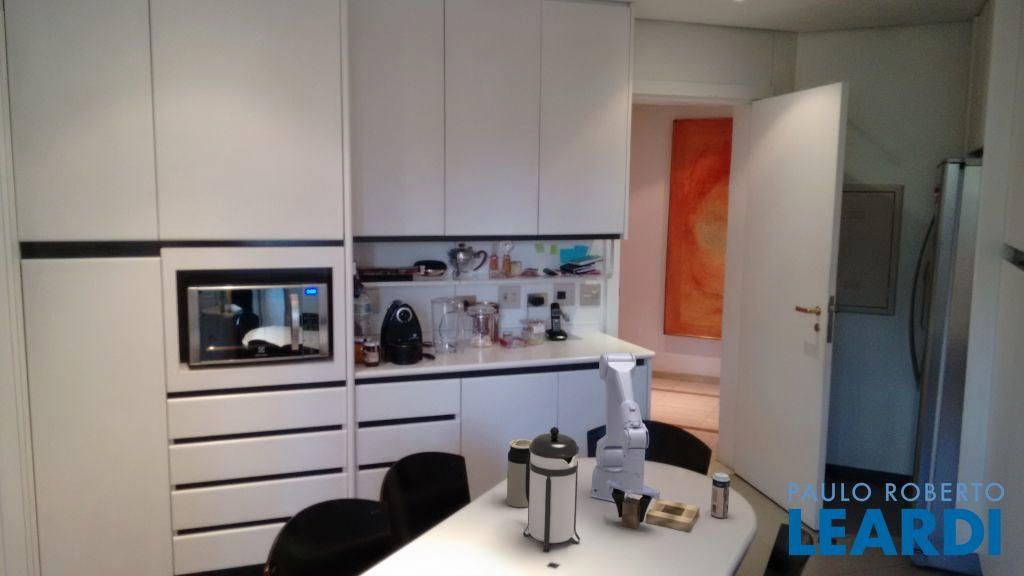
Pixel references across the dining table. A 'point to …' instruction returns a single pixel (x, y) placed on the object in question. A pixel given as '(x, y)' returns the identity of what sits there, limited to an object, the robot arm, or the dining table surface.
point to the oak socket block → (673, 515)
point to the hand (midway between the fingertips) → (631, 518)
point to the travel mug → (517, 472)
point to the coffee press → (552, 488)
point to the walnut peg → (631, 513)
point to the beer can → (720, 495)
